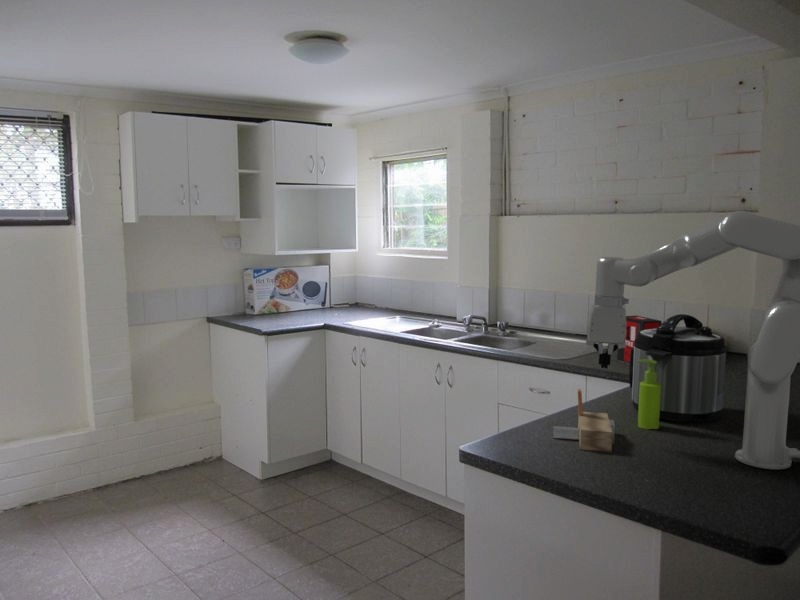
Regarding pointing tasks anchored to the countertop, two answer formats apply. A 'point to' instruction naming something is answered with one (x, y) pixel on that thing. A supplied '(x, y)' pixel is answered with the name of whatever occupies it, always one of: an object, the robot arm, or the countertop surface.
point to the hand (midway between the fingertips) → (604, 367)
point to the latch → (580, 402)
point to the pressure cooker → (682, 368)
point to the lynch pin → (575, 432)
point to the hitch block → (595, 432)
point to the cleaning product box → (635, 333)
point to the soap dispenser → (649, 398)
